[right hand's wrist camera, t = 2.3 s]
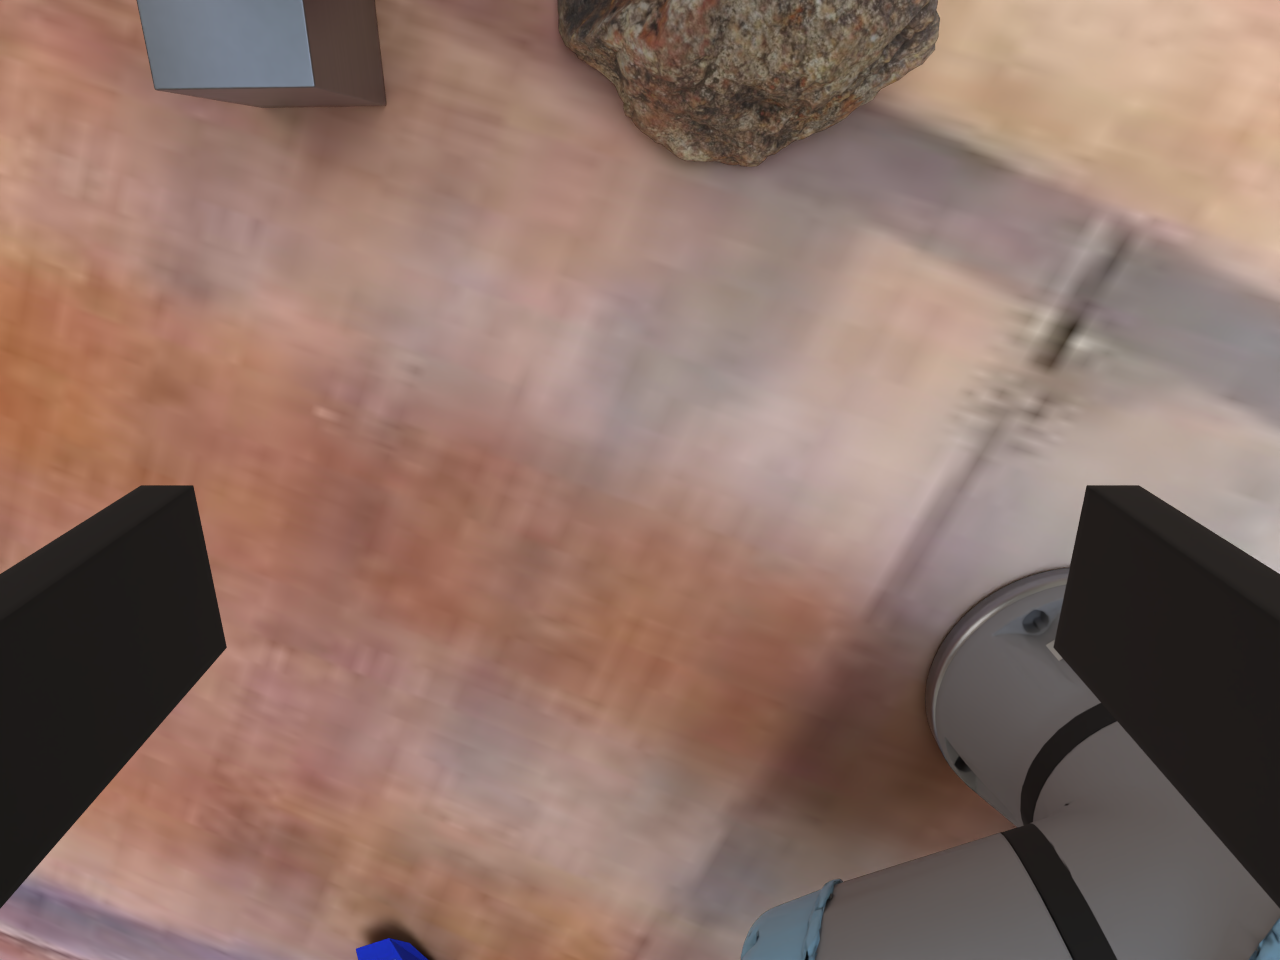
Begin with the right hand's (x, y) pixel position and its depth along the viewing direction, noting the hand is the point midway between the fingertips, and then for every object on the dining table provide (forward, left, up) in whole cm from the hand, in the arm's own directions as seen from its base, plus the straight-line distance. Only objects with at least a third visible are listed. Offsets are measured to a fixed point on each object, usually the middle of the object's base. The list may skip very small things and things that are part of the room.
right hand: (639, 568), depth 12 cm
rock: (+11, -1, -29) cm, 31 cm away
